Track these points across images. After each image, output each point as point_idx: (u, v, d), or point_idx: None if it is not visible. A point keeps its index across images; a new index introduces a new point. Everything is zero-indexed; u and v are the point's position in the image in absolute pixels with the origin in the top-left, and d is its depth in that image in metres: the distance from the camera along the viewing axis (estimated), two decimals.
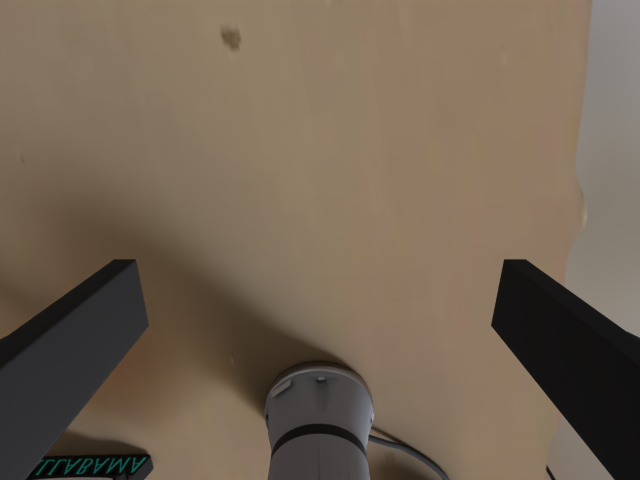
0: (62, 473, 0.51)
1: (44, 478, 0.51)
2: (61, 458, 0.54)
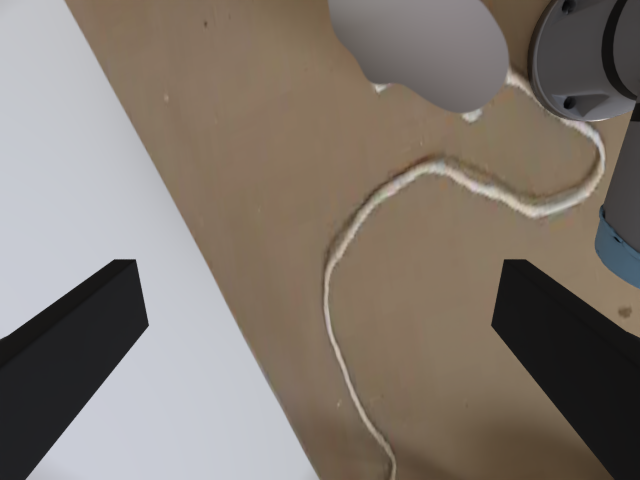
0: None
1: None
2: None
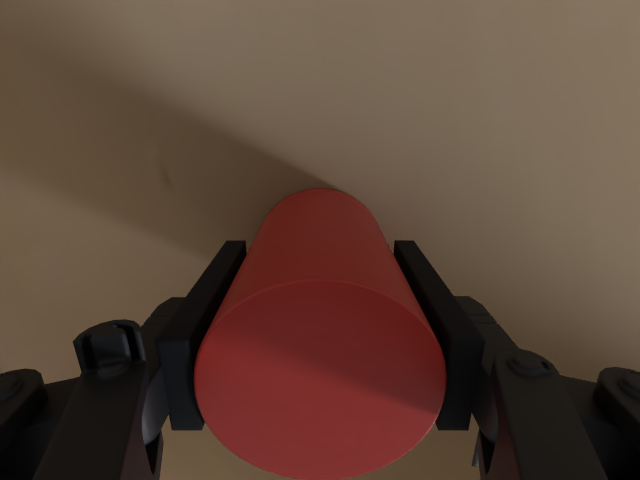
0: None
1: None
2: None
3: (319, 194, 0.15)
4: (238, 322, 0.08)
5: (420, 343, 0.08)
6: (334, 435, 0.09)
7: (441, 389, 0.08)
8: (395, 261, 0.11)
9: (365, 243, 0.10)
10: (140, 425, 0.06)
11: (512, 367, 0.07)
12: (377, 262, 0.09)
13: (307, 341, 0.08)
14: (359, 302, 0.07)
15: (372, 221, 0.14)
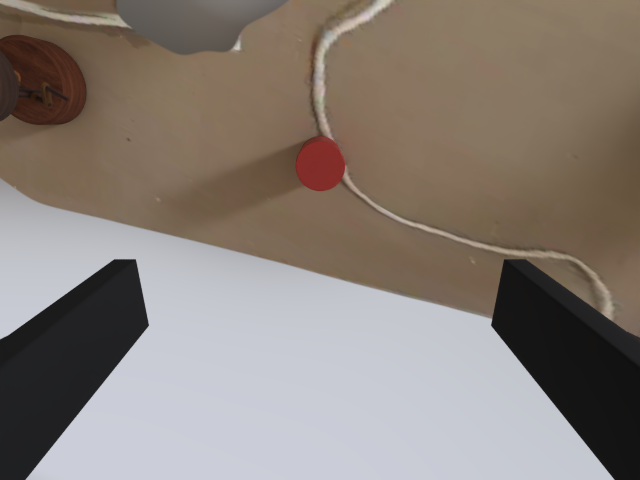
0: None
1: None
2: None
3: (320, 136, 0.49)
4: (305, 150, 0.42)
5: (339, 155, 0.42)
6: (323, 177, 0.43)
7: (343, 165, 0.42)
8: None
9: (330, 141, 0.44)
10: None
11: None
12: (332, 143, 0.43)
13: (317, 154, 0.42)
14: (327, 146, 0.41)
15: None
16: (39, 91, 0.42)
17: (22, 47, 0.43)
